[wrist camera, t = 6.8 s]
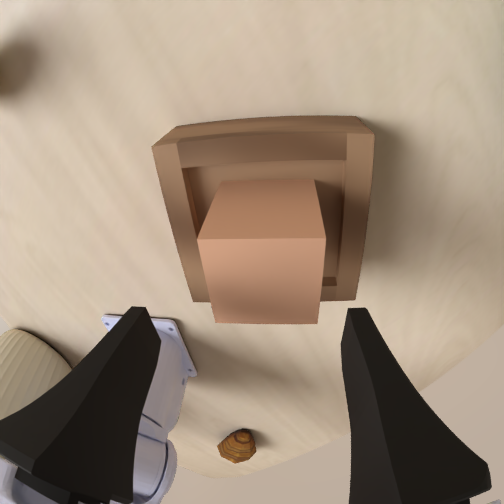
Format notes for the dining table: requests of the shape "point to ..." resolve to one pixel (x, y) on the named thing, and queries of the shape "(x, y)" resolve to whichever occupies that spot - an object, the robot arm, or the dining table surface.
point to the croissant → (237, 446)
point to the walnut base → (272, 168)
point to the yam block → (264, 252)
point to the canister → (26, 370)
